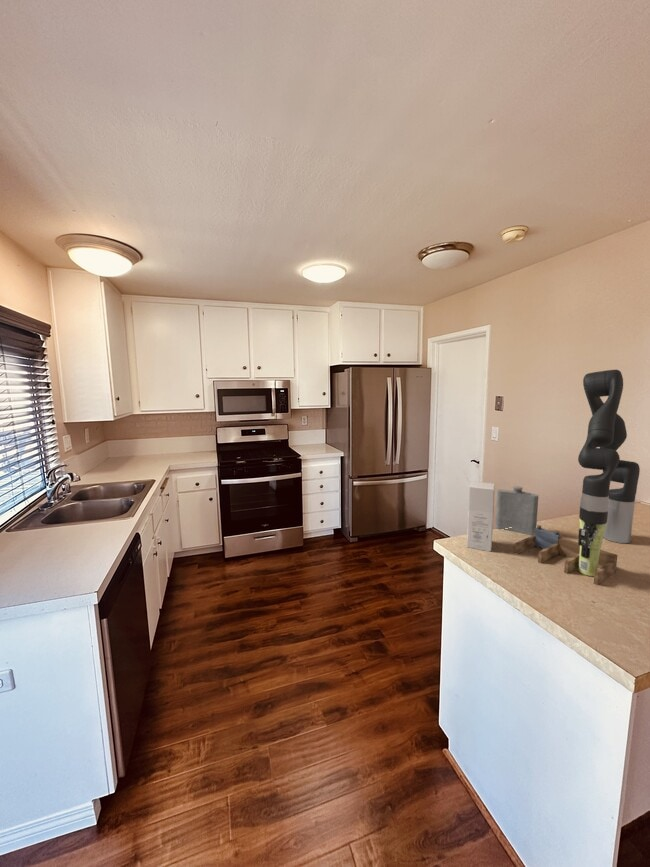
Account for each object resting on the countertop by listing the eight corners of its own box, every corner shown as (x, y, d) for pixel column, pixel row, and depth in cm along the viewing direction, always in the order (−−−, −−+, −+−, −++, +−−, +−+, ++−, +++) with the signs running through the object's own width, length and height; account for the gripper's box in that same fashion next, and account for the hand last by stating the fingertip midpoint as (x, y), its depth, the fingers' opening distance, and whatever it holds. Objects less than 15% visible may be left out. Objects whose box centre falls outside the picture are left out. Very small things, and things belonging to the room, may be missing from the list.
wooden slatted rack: (535, 543, 144) (536, 524, 143) (616, 571, 121) (618, 548, 120) (514, 552, 136) (515, 532, 135) (597, 584, 113) (599, 560, 112)
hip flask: (494, 528, 159) (496, 485, 157) (496, 525, 163) (498, 483, 160) (535, 536, 151) (538, 490, 148) (536, 533, 154) (539, 488, 151)
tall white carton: (492, 543, 145) (495, 483, 141) (490, 551, 137) (494, 489, 134) (469, 538, 149) (471, 481, 145) (466, 547, 141) (469, 486, 138)
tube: (590, 568, 123) (595, 515, 121) (602, 576, 118) (607, 520, 116) (574, 569, 123) (579, 515, 121) (586, 577, 118) (591, 521, 116)
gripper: (590, 500, 125) (586, 545, 127) (571, 508, 117) (567, 555, 119) (616, 506, 118) (611, 553, 120) (598, 514, 111) (593, 565, 113)
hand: (589, 554), depth 120 cm, fingers open, 6 cm apart
